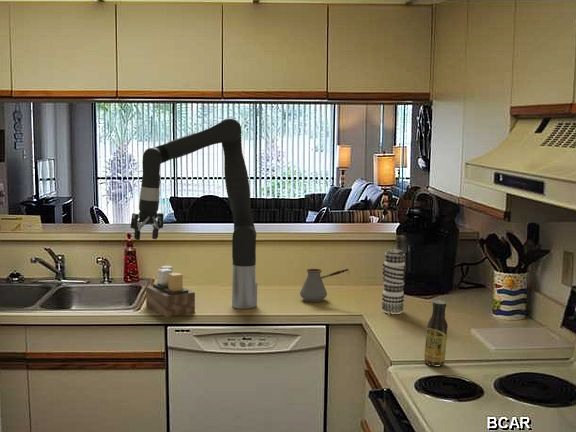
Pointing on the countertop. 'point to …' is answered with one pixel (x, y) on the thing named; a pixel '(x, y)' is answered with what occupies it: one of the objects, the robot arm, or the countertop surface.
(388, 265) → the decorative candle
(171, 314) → the walnut block
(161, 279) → the grey metal peg
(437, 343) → the sauce bottle
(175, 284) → the ochre peg
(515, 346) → the countertop surface
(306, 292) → the coffee pot
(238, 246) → the robot arm
